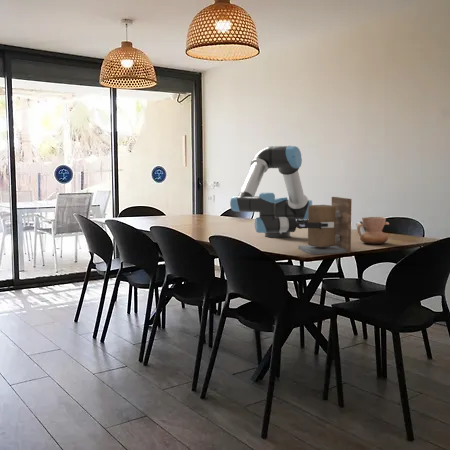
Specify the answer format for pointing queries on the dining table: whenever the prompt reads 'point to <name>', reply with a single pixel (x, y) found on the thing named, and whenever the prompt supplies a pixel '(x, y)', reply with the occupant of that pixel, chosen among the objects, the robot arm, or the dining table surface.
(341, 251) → the plate
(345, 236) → the cabinet side
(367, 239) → the ceramic jug
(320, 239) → the wooden block
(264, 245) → the dining table surface
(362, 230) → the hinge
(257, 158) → the robot arm
